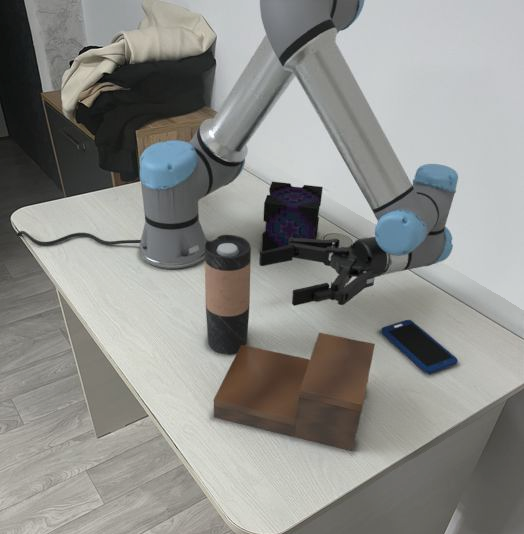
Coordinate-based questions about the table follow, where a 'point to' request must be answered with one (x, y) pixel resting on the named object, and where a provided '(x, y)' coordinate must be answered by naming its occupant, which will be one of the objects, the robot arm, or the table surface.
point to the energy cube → (290, 214)
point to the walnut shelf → (299, 390)
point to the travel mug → (227, 292)
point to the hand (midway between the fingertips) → (275, 277)
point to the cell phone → (419, 346)
